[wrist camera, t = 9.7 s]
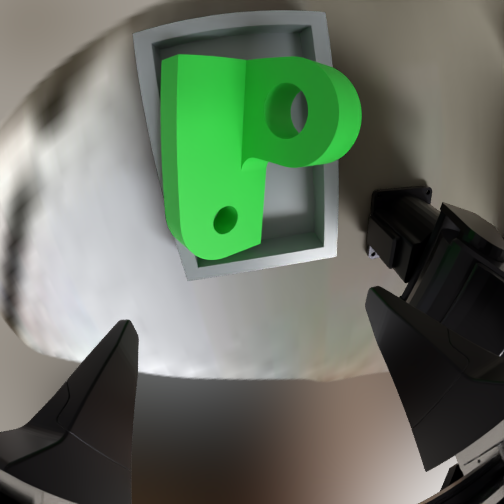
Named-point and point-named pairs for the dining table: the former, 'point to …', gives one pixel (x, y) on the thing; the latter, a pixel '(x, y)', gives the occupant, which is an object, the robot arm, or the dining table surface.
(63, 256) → the dining table surface
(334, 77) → the mechanical part
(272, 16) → the parts tray
